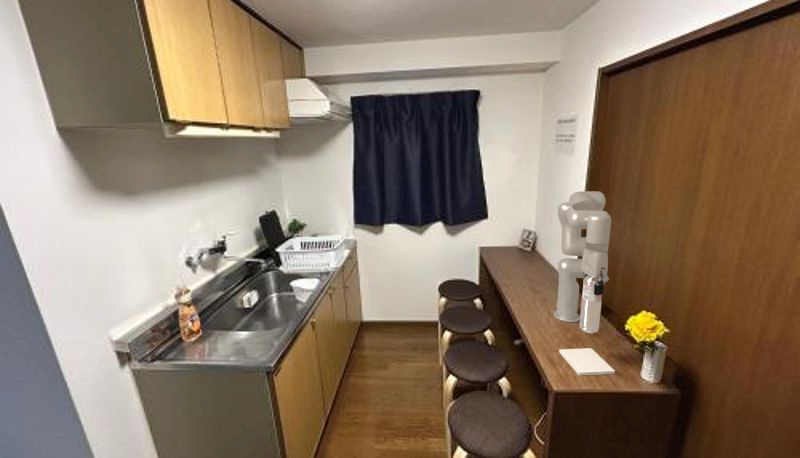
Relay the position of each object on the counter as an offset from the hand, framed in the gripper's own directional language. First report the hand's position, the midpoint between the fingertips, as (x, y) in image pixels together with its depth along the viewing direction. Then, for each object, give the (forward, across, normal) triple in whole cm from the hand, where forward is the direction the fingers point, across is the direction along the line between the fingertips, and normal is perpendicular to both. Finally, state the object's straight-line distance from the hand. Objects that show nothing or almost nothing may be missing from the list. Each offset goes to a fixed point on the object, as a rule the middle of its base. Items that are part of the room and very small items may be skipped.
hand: (592, 290), depth 133 cm
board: (+31, 0, 0) cm, 31 cm away
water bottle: (+17, 0, 0) cm, 17 cm away
